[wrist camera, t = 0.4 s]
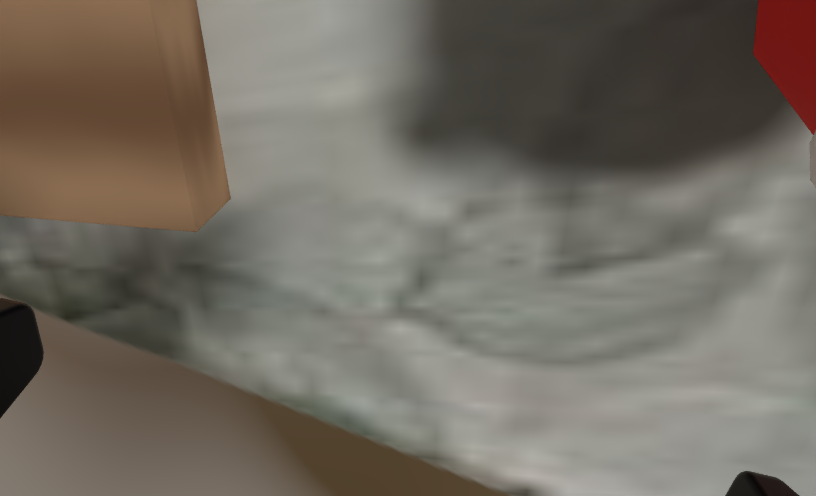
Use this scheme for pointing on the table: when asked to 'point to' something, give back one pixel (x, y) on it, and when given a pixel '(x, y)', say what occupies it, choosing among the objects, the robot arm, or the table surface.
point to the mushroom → (791, 56)
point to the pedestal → (108, 114)
